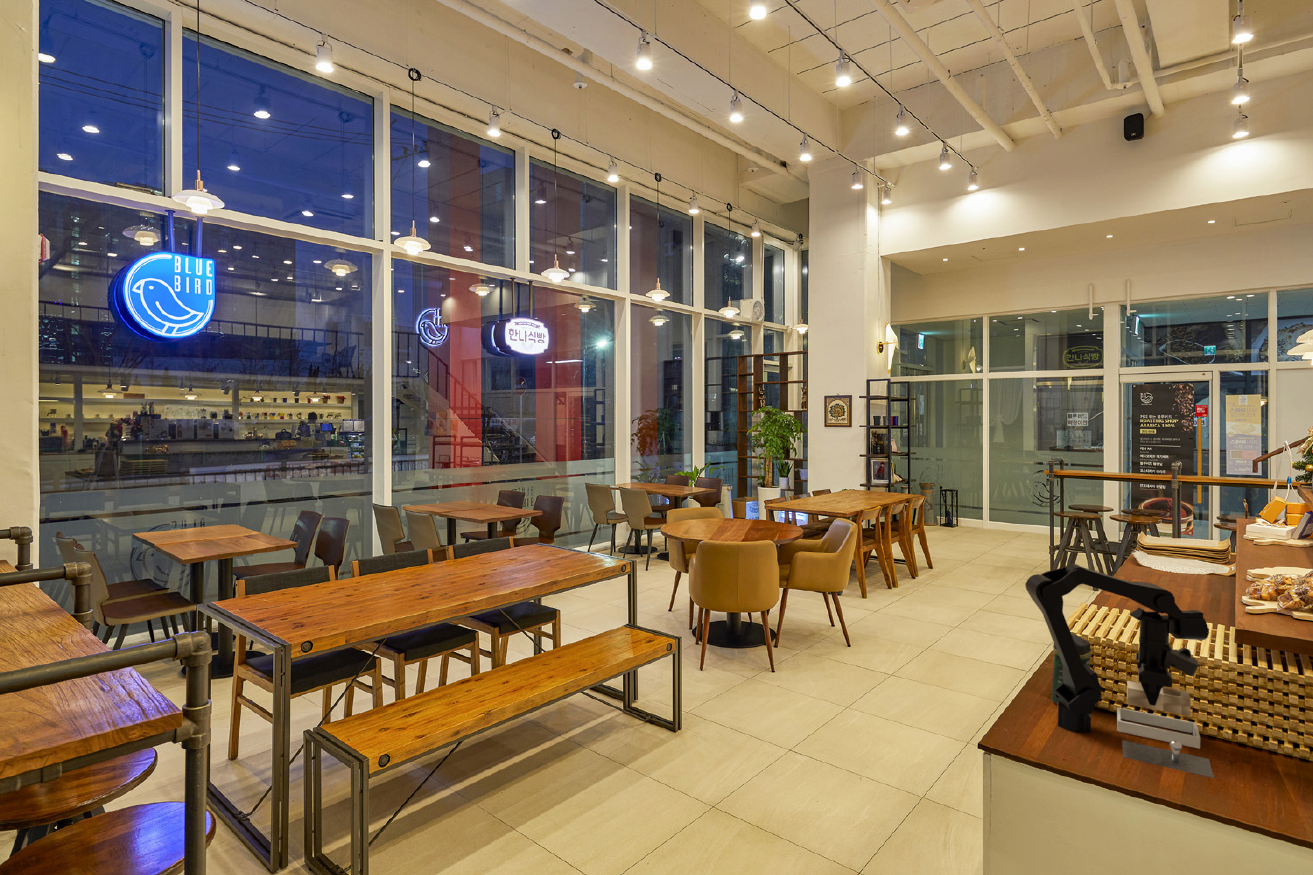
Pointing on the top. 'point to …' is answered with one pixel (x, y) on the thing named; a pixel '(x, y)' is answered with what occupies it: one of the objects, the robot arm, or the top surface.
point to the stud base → (1168, 757)
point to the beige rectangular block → (1160, 699)
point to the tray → (1156, 732)
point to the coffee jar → (1084, 654)
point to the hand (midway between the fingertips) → (1151, 700)
